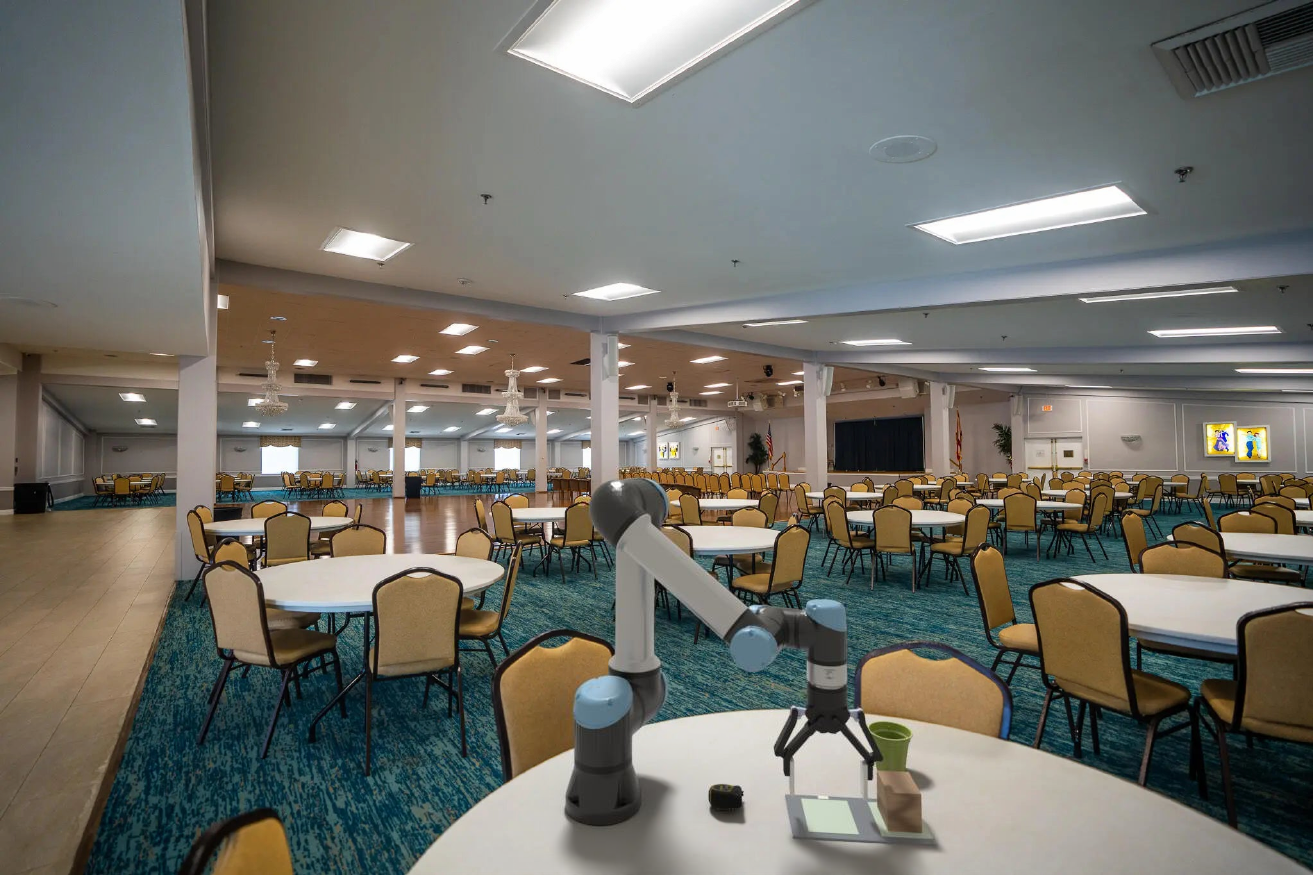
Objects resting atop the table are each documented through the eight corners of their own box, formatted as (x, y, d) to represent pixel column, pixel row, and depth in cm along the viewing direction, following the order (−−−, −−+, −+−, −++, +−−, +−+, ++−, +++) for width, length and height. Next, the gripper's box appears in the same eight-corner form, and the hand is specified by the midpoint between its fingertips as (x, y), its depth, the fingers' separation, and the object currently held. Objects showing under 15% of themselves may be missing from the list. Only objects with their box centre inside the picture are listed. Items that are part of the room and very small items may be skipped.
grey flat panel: (793, 840, 112) (793, 835, 112) (785, 798, 126) (785, 793, 126) (936, 848, 110) (936, 843, 110) (912, 804, 124) (912, 799, 124)
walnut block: (888, 831, 114) (887, 792, 114) (877, 806, 122) (876, 770, 122) (922, 832, 113) (921, 794, 113) (908, 808, 121) (908, 771, 121)
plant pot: (920, 780, 133) (919, 739, 133) (876, 780, 133) (875, 739, 133) (903, 759, 142) (903, 720, 143) (862, 758, 143) (862, 720, 143)
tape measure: (742, 814, 118) (741, 792, 119) (707, 812, 120) (706, 791, 121) (744, 804, 125) (743, 783, 126) (710, 802, 126) (709, 782, 127)
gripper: (762, 687, 117) (763, 801, 116) (899, 692, 114) (900, 809, 114) (760, 673, 124) (760, 780, 124) (888, 677, 122) (889, 787, 121)
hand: (827, 794), depth 119 cm, fingers open, 13 cm apart
